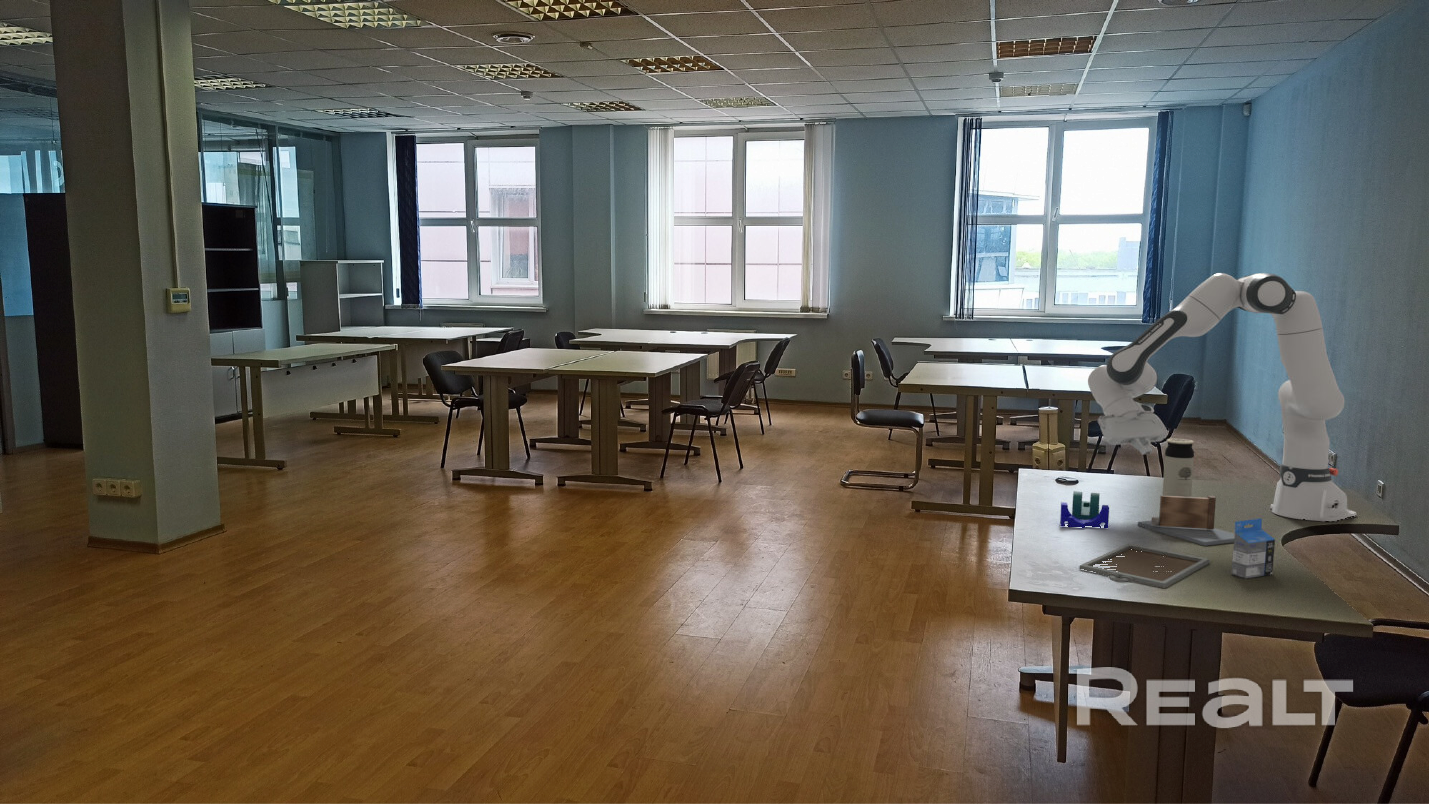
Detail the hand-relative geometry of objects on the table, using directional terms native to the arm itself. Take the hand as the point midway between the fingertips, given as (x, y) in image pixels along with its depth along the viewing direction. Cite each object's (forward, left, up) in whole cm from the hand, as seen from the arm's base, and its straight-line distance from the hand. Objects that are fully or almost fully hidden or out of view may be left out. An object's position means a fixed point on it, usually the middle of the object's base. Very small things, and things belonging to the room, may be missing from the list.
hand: (1147, 453), depth 275 cm
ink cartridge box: (+21, +53, -18) cm, 60 cm away
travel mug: (-26, -13, -18) cm, 34 cm away
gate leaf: (+6, +18, -16) cm, 25 cm away
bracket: (+16, -6, -18) cm, 25 cm away
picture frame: (+40, +40, -19) cm, 59 cm away
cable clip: (+26, +4, -18) cm, 32 cm away
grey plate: (+4, +20, -18) cm, 27 cm away
